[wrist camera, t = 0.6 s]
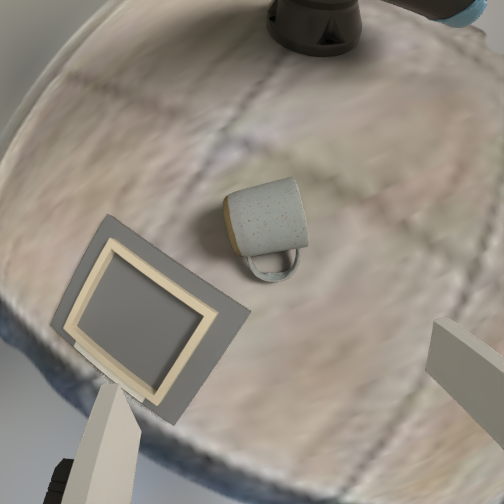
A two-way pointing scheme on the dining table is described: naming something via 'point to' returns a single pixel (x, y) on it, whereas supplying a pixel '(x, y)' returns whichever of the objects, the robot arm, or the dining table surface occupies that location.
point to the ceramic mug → (267, 223)
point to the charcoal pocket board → (146, 320)
